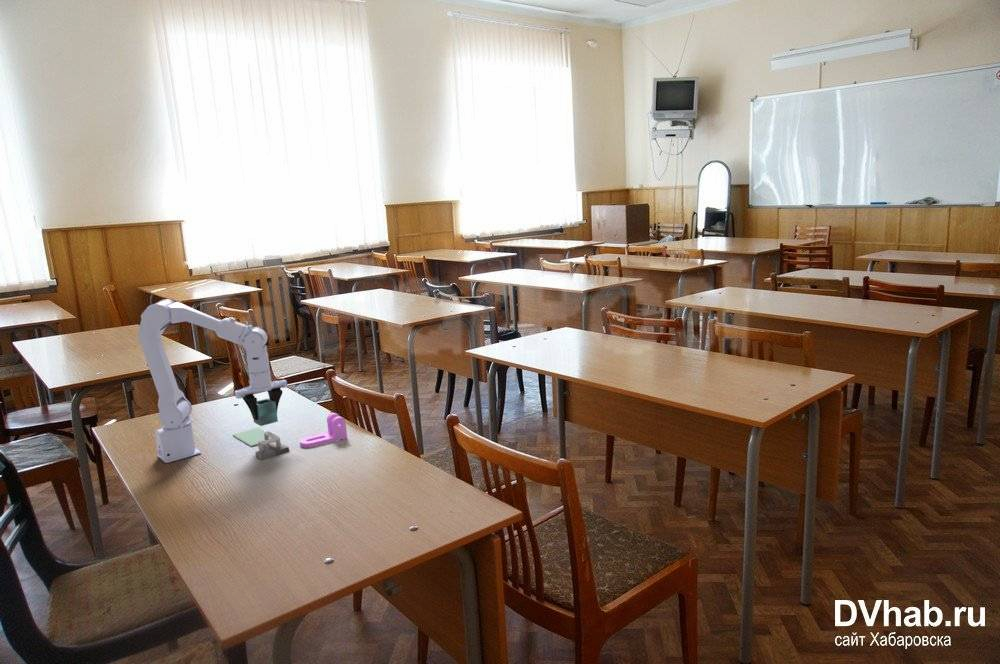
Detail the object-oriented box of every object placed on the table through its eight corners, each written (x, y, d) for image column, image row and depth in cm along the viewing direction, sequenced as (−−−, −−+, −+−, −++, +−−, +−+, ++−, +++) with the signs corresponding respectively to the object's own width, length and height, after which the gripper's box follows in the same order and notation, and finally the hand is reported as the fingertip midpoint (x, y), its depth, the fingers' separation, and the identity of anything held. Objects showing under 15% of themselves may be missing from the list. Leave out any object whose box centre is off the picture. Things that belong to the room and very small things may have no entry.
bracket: (340, 433, 201) (338, 411, 200) (347, 438, 196) (345, 416, 195) (297, 444, 194) (295, 421, 193) (303, 449, 190) (300, 426, 188)
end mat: (251, 446, 194) (251, 445, 193) (232, 435, 204) (232, 434, 204) (277, 439, 199) (277, 437, 199) (258, 428, 209) (258, 427, 209)
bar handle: (261, 459, 183) (259, 444, 183) (245, 449, 192) (243, 434, 191) (289, 451, 189) (287, 436, 188) (271, 441, 197) (270, 427, 196)
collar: (260, 426, 189) (258, 405, 188) (253, 422, 193) (251, 402, 191) (277, 421, 192) (275, 401, 191) (270, 417, 196) (268, 398, 195)
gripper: (239, 378, 182) (245, 426, 184) (289, 367, 191) (294, 413, 194) (229, 374, 187) (235, 420, 190) (279, 364, 196) (284, 408, 199)
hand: (265, 416), depth 192 cm, fingers closed on collar, 5 cm apart
